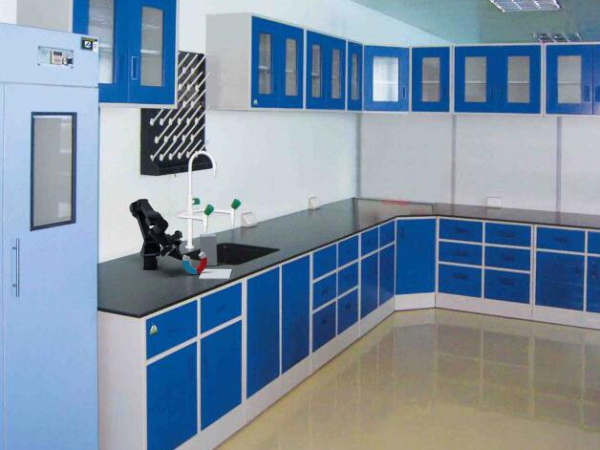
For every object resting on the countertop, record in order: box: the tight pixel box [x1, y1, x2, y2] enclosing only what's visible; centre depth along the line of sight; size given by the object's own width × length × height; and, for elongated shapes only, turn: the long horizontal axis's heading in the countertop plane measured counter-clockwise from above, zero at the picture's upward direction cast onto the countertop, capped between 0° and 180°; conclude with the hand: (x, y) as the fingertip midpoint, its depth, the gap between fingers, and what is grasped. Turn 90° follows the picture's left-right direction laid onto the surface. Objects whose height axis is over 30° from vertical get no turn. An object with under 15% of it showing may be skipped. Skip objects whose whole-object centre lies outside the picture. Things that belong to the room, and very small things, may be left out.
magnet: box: [181, 251, 207, 275], centre depth 369 cm, size 12×3×10 cm, turn 117°
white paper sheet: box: [198, 268, 233, 280], centre depth 370 cm, size 14×20×1 cm
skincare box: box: [199, 233, 218, 267], centre depth 390 cm, size 8×7×16 cm
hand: (183, 260), depth 369 cm, fingers closed
